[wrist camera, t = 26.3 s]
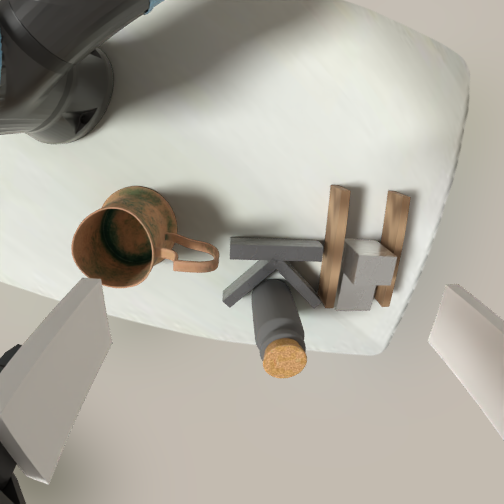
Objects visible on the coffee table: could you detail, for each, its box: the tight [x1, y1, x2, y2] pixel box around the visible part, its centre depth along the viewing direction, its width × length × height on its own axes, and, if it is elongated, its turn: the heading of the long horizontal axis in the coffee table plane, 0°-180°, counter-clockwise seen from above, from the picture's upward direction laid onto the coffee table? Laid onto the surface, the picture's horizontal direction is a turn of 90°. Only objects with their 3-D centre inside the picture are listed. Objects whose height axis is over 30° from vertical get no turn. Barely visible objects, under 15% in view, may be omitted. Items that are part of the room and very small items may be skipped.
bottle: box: [252, 279, 307, 378], centre depth 39 cm, size 6×6×15 cm
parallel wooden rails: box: [318, 185, 411, 308], centre depth 42 cm, size 16×10×4 cm, turn 177°
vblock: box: [223, 237, 324, 308], centre depth 43 cm, size 9×14×3 cm, turn 87°
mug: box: [72, 186, 219, 288], centre depth 36 cm, size 12×18×12 cm, turn 84°
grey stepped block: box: [334, 238, 397, 311], centre depth 42 cm, size 10×6×7 cm, turn 176°
